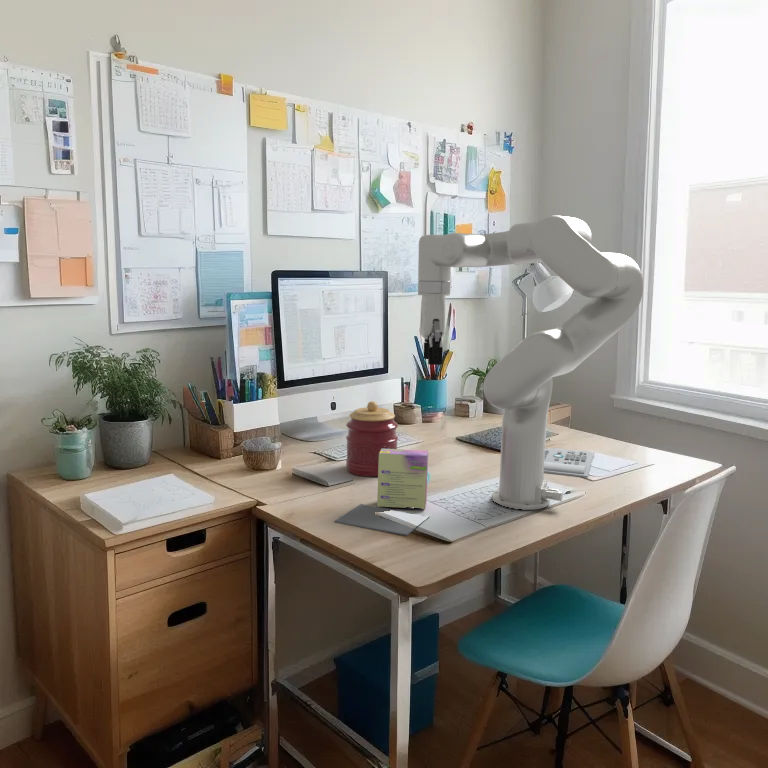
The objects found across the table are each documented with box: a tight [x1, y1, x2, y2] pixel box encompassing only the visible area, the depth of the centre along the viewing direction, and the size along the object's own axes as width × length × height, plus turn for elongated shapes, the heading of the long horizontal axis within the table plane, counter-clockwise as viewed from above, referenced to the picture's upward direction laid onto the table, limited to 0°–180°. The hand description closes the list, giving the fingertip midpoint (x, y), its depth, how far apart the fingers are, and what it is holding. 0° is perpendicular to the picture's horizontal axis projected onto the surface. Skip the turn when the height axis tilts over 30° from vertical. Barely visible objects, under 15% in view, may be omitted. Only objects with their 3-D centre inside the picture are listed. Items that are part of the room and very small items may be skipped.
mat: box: [334, 503, 415, 537], centre depth 149 cm, size 16×12×1 cm
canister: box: [345, 400, 399, 477], centre depth 182 cm, size 13×13×18 cm
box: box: [376, 448, 429, 510], centre depth 157 cm, size 10×6×12 cm, turn 84°
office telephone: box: [544, 447, 596, 479], centre depth 194 cm, size 23×3×20 cm
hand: (432, 361), depth 172 cm, fingers open, 9 cm apart
